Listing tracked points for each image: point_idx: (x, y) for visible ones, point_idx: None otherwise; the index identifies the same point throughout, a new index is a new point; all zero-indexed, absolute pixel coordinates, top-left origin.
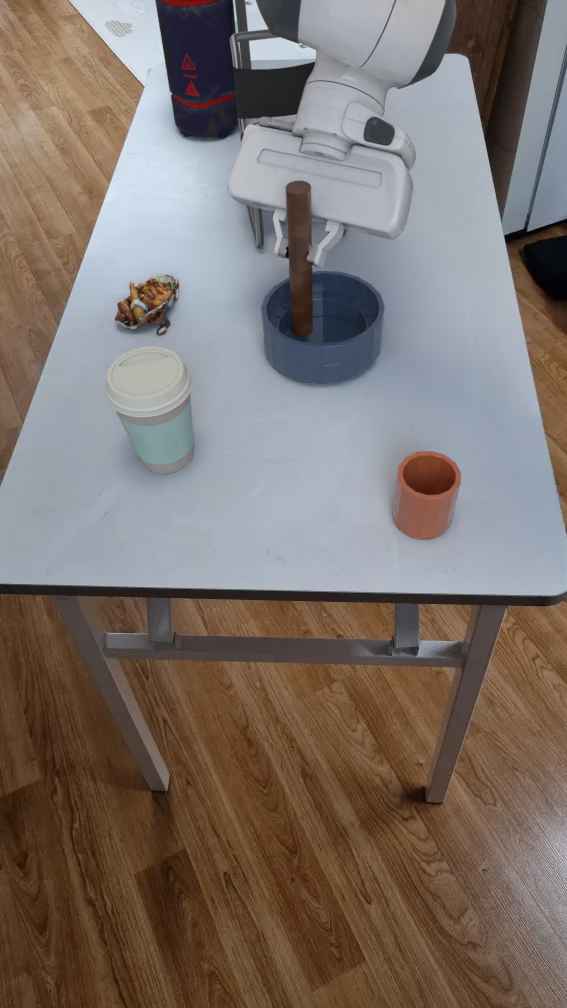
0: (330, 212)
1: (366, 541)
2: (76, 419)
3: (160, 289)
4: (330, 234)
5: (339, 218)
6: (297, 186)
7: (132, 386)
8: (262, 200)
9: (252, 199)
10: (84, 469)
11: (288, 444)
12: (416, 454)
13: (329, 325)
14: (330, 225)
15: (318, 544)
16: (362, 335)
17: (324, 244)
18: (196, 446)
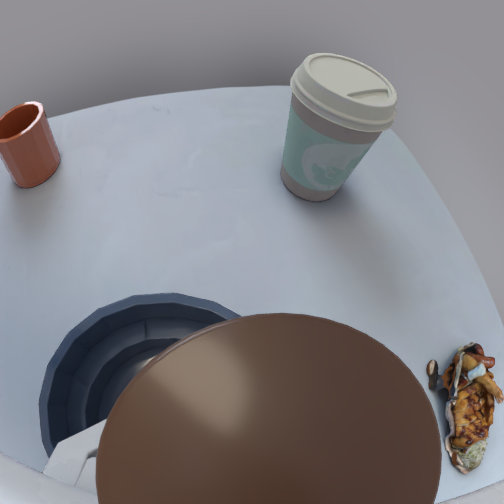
0: (62, 501)
1: (85, 135)
2: (417, 207)
3: (470, 426)
4: (83, 445)
5: (18, 465)
6: (307, 499)
7: (349, 67)
8: (464, 499)
9: (492, 486)
10: (368, 157)
11: (174, 213)
12: (19, 134)
13: None
14: (82, 477)
15: (125, 124)
16: (64, 343)
17: None
18: (284, 192)
